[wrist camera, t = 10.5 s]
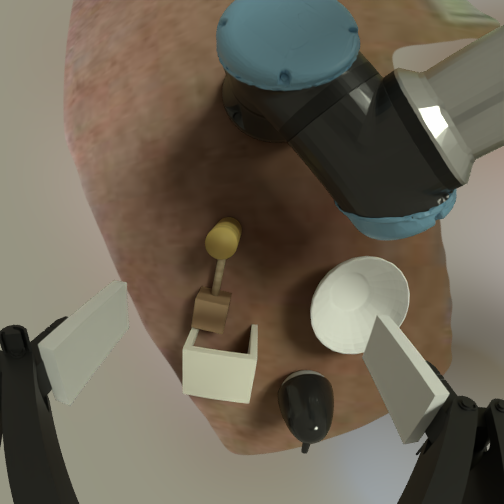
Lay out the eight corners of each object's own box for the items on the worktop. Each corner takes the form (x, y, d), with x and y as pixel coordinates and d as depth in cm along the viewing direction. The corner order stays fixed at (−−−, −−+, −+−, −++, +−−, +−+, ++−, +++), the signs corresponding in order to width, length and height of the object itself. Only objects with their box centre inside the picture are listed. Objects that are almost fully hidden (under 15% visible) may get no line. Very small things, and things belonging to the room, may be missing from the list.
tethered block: (215, 214, 43) (204, 223, 35) (247, 221, 44) (244, 232, 35) (197, 312, 48) (185, 340, 39) (226, 319, 48) (219, 348, 39)
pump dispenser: (272, 398, 53) (274, 457, 38) (282, 359, 50) (288, 419, 35) (320, 401, 53) (333, 457, 38) (334, 363, 50) (354, 419, 35)
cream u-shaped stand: (196, 316, 48) (182, 349, 38) (257, 325, 48) (257, 360, 38) (194, 357, 50) (182, 393, 40) (250, 365, 50) (248, 403, 41)
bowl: (286, 276, 46) (290, 294, 39) (371, 227, 43) (389, 236, 36) (327, 347, 49) (336, 370, 42) (403, 303, 47) (420, 320, 40)
